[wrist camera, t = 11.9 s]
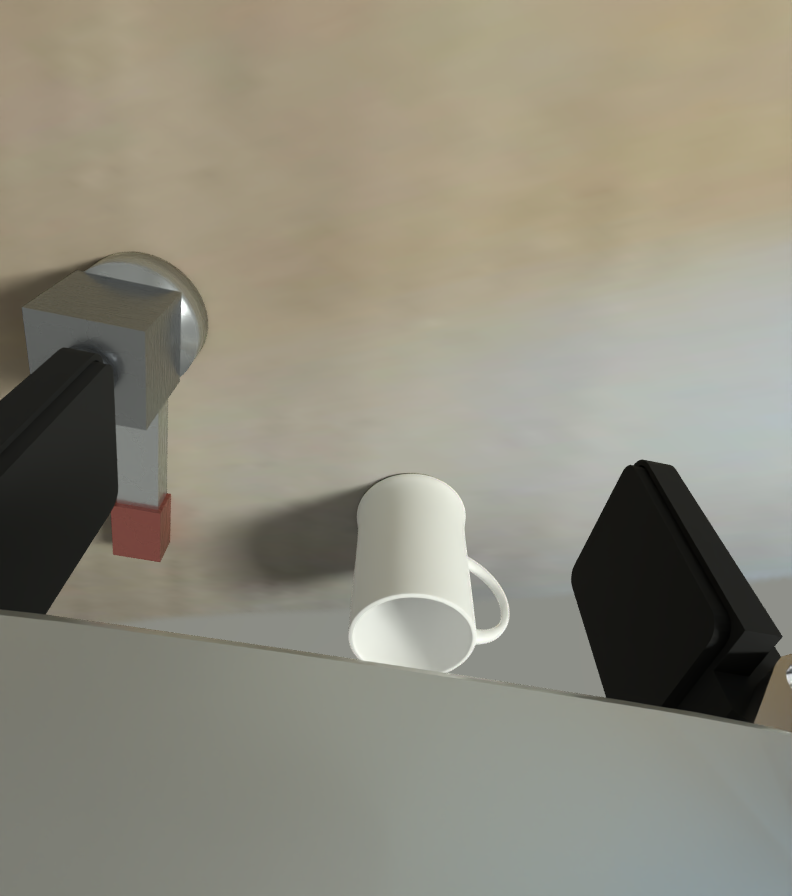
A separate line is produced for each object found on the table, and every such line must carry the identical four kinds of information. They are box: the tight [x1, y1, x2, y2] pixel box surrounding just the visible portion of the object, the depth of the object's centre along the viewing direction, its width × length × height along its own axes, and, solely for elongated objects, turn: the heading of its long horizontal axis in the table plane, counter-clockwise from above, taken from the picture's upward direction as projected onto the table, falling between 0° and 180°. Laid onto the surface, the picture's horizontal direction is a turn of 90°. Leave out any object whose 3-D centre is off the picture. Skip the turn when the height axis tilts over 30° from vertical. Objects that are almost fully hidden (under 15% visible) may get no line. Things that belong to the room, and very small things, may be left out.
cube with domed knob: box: [22, 270, 182, 430], centre depth 34 cm, size 6×6×7 cm
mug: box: [348, 474, 509, 673], centre depth 44 cm, size 12×9×12 cm
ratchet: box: [84, 252, 208, 562], centre depth 41 cm, size 24×8×6 cm, turn 168°
